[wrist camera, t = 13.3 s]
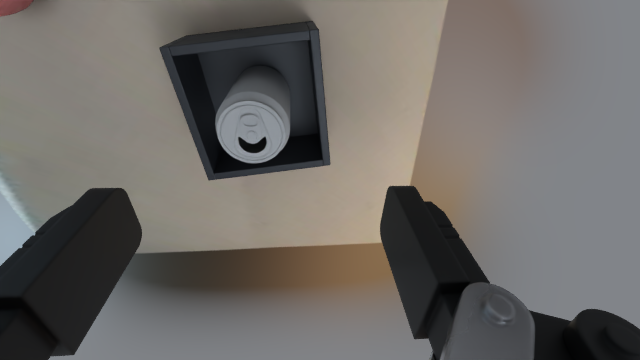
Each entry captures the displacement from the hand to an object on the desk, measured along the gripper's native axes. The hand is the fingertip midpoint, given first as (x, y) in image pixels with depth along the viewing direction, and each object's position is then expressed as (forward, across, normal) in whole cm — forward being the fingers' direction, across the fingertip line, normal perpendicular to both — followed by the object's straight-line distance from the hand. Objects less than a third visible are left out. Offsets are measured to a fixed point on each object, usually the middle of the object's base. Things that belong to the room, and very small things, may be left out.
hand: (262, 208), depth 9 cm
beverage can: (+27, +3, +5) cm, 28 cm away
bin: (+28, +3, +5) cm, 28 cm away
